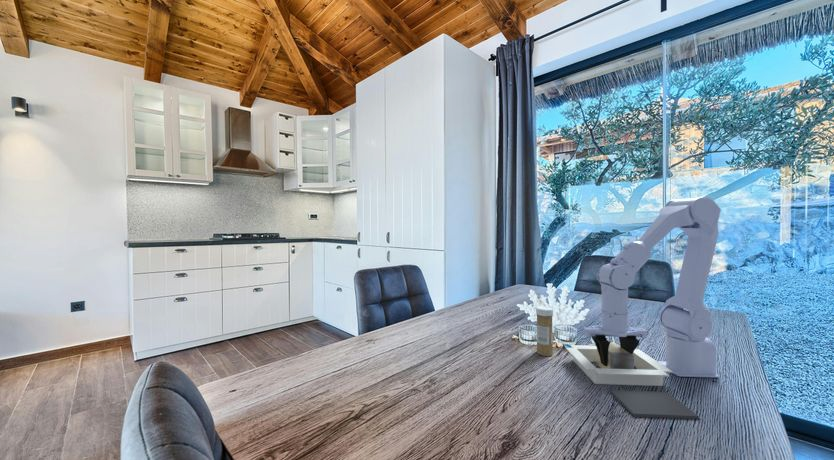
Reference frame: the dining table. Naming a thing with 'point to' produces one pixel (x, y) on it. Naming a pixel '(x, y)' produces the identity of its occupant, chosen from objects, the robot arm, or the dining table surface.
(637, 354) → the white flat frame
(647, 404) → the rubber mat
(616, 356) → the birch block
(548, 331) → the sprinkles bottle
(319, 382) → the dining table surface
